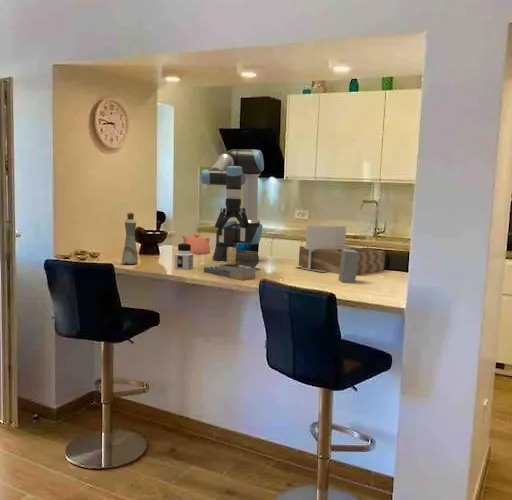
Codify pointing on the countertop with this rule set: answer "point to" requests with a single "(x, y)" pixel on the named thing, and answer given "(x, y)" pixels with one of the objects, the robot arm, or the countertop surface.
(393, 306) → the countertop surface
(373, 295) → the countertop surface
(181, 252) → the container
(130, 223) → the bottle
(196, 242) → the teapot
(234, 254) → the pin
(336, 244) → the white panel on stand
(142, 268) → the countertop surface
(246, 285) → the countertop surface
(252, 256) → the bowl
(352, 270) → the skincare box
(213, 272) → the chain end
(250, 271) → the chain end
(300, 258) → the holder caddy
